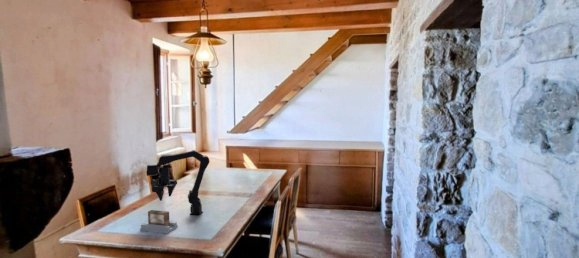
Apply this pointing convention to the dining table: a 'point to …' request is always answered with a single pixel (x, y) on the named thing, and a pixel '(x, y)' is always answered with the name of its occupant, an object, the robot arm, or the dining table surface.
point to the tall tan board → (158, 217)
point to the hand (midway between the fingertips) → (165, 198)
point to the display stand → (159, 227)
